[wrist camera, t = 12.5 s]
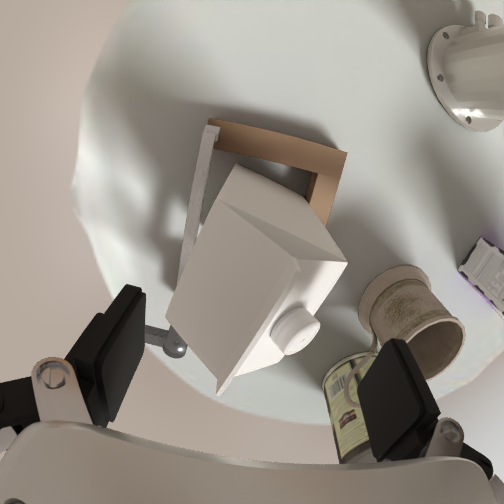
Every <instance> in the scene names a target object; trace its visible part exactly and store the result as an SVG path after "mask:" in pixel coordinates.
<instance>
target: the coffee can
mask: <svg viewBox="0 0 504 504" xmlns="http://www.w3.org/2000/svg"><path fill="white" fill-rule="evenodd" d="M368 353H369V352H365V353H359V354H354V355H352V356H349V357H347V358H345V359H343V360H341V361H339V362H338V363H337V364H335V365H334V366H333V367H332V368H331V369H330V370H329V371H328V372H327V374H326V375H325V377H324V379H323V384H322V388H323V392H324V394H325V399H326V403H327V408H328V412H329V417H330V421H331V426H332V429H333V435H334V440H335V444H336V449H337V454H338V459H339V464H362V463H377V460H376V458H374V457H373V454H372V449H371V445H370V441H369V437H368V433H367V429H366V425H365V421H364V417H363V414H362V410H361V409H357V408H354V407H351V406H350V405H349V404H348V403H347V402H346V400H345V397H344V383H345V380H346V378H347V376H348V374H349V373H350V372H351V370H352V369H353V368H354V367H355V366H356V365H357V364H358V363H359V362H360V361H361V360H362V359H363V358H364V357H365V356H366V355H367V354H368ZM377 355H378V353H375V354H374V355H372V357H371V358H370V359H369V360H368V361H367V363H365V364H364V365H363V366H362V367H361V368H360V369H359V370H358V371H357V372H356V373H355V374H354V376H353V377H352V379H351V381H350V383H349V396H350V398H351V400H352V401H353V402H355V403H359V404H360V402H359V399H358V395H357V387H358V385H359V383H360V382H361V380H362V379H363V377H364V376H365V374H366V372H367V371H368V369H369V368H370V366H371V365H372V363H373V361H374V360H375V358H376V357H377Z"/></svg>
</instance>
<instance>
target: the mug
mask: <svg viewBox="0 0 504 504" xmlns="http://www.w3.org/2000/svg"><path fill="white" fill-rule="evenodd" d="M358 312H359V320H360V322H361V324H362V325H363V327H364V329H366V330H367V331H368V332H370V333H371V334H372V335H373V342H372V345H371V348H370V349H369V353H368V354H367V355H366V356H365V357H364V358H363V359H362V360H361V361H360V362H359V363H358V364H357V365H356V366H355V367H354V368H353V369H352V370H351V372H350V373H349V374H348V376H347V378H346V380H345V383H344V397H345V400H346V402H347V403H348V404H349V405H350V406H351V407H354V408H357V409H361V406H360V404H359V403H355V402H353V401H352V400H351V398H350V396H349V383H350V381H351V379H352V377H353V376H354V374H355V373H356V372H357V371H358V370H359V369H360V368H361V367H362V366H363V365H364V364H365V363H367V361H368V360H369V359H370V358H371V357H372V355H374V354H375V352H376V349H377V344H378V343H377V338H378V340H379V342H380V344H381V346H382V347H383V345H384V343H385V342H386V341H389V339H391V338H396V339H403V340H405V341H406V343H407V345H408V347H409V349H410V351H411V353H412V355H413V356H414V358H415V360H416V362H417V364H418V366H419V368H420V370H421V372H422V374H423V376H424V378H425V380H426V381H429V380H431V379H433V378H435V377H436V376H438V375H439V374H441V373H442V372H443V371H445V370H446V369H447V368H448V367H449V366H450V365H451V364H452V363H453V362H454V360H455V359H456V358H457V356H458V355H459V353H460V351H461V349H462V347H463V345H464V341H465V336H466V334H465V328H464V326H463V325H462V323H461V322H460V321H459V320H458V318H456V317H453V316H452V315H451V314H450V313H449V311H448V310H447V309H446V308H445V307H444V306H443V305H442V303H441V302H440V301H439V300H438V299H437V298H436V297H435V296H434V294H433V293H432V292H431V285H430V282H429V279H428V277H427V276H426V275H425V273H424V272H423V271H422V270H421V269H418V268H416V267H414V266H404V265H400V266H397V267H394V268H390V269H388V270H386V271H385V272H383V273H381V274H380V275H378V276H377V277H376V278H375V279H374V280H373V281H372V282H371V283H370V284H369V285H368V286H367V288H366V290H365V291H364V293H363V295H362V297H361V300H360V304H359V308H358ZM376 336H377V337H376Z"/></svg>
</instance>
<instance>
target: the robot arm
mask: <svg viewBox="0 0 504 504" xmlns="http://www.w3.org/2000/svg"><path fill="white" fill-rule="evenodd" d="M485 24H486V15H485V14H484V13H483V12H481V11H475V25H473V26H471V27H465V26H462V25H450V26H446V27H444V28H442V29H440V30H439V31H437V32H436V33H435V34H434V36H433V37H432V39H431V41H430V44H429V47H428V54H427V63H428V71H429V76H430V79H431V83H432V86H433V88H434V91H435V93H436V95H437V97H438V99H439V101H440V102H441V104H442V106H443V107H444V109H445V110H446V111H447V112H448V114H449V115H450V116H451V117H452V118H453V119H454V120H455V121H456V122H457V123H459V124H460V125H462V126H463V127H465V128H468V129H470V130H474V131H480V132H487V131H490V130H493V129H495V128H496V127H498V126H499V125H500V124H501V122H502V121H503V120H504V25H503V21H502V19H501V18H500V17H499V16H497V15H494V14H490V15H488V28H489V29H486V28H485ZM145 308H146V293H143V292H142V289H141V288H140V287H136V286H132V285H129V284H126V285H125V286H124V287H123V289H122V290H121V291H120V293H119V294H118V295H117V297H116V298H115V299H114V301H113V302H112V304H111V305H110V306H109V308H108V309H107V310H106V312H105V313H104V314H103V313H97V314H96V315H95V316H94V318H93V319H92V321H91V322H90V323H89V325H88V326H87V328H86V329H85V330H84V332H83V333H82V334H81V336H80V337H79V339H78V340H77V341H76V343H75V344H74V346H73V347H72V349H71V350H70V352H69V353H68V354H67V356H66V357H65V359H62V358H56V357H48V358H45V359H42V360H41V361H39V362H37V364H36V365H35V366H34V367H33V370H32V376H30V377H26V378H21V379H17V380H12V381H7V382H3V383H0V453H2V452H3V451H5V450H7V451H6V453H5V455H4V456H3V458H2V460H1V462H0V504H504V483H503V482H502V481H501V480H500V479H499V478H498V476H497V475H493V466H492V463H491V461H490V460H489V459H488V458H486V457H485V456H484V455H482V454H481V453H479V452H478V451H476V450H475V449H473V448H471V447H470V446H468V445H467V444H465V443H464V442H463V440H464V432H463V429H462V427H461V426H460V424H459V423H458V422H456V421H455V420H454V419H451V418H448V417H445V418H441V419H440V420H438V418H437V417H438V416H439V415H440V414H441V412H440V410H439V408H438V406H437V404H436V401H435V399H434V397H433V395H432V393H431V391H430V388H429V386H428V384H427V382H426V380H425V378H424V376H423V374H422V372H421V370H420V368H419V366H418V364H417V362H416V360H415V358H414V356H413V355H412V353H411V351H410V349H409V347H408V345H407V343H406V341H405V340H403V339H396V338H391V339H389V341H386V342H385V343H384V345H383V347H382V348H381V350H380V352H379V353H378V355H377V357H376V358H375V360H374V361H373V363H372V365H371V366H370V368H369V369H368V371H367V372H366V374H365V376H364V377H363V379H362V380H361V382H360V383H359V385H358V387H357V395H358V399H359V402H360V406H361V410H362V414H363V417H364V421H365V425H366V429H367V433H368V437H369V441H370V445H371V449H372V454H373V457H374V458H376V460H377V463H362V464H294V463H278V462H267V461H257V460H249V459H240V458H233V457H227V456H220V455H214V454H209V453H203V452H199V451H194V450H188V449H184V448H180V447H175V446H171V445H167V444H162V443H159V442H155V441H151V440H147V439H144V438H140V437H137V436H133V435H129V434H126V433H122V432H119V431H115V430H112V429H108V428H106V427H107V425H108V422H109V421H110V422H113V421H114V420H115V418H116V415H117V413H118V411H119V408H120V406H121V403H122V401H123V399H124V396H125V394H126V392H127V389H128V387H129V385H130V382H131V380H132V378H133V376H134V373H135V371H136V369H137V366H138V364H139V362H140V360H141V358H142V355H143V352H144V346H145ZM98 425H99V426H98ZM100 426H101V427H100ZM492 475H493V476H492Z"/></svg>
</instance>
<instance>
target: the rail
mask: <svg viewBox="0 0 504 504" xmlns="http://www.w3.org/2000/svg"><path fill="white" fill-rule="evenodd" d="M220 132H221V127H217V126H212V125H206V124H205V129H204V132H203V134H202V139H201V144H200V149H199V153H198V158H197V163H196V168H195V173H194V179H193V184H192V189H191V195H190V201H189V206H188V212H187V218H186V224H185V230H184V237H183V243H182V250H181V257H180V264H179V271H178V279H177V285H178V282H179V280H180V278H181V275H182V273H183V271H184V268H185V266H186V263H187V261H188V259H189V256H190V254H191V252H192V250H193V247H194V245H195V243H196V238H197V233H198V227H199V222H200V216H201V211H202V205H203V200H204V195H205V190H206V185H207V180H208V175H209V170H210V165H211V160H212V156H213V151H214V147H215V142H216V141H218V140H219V136H220ZM176 287H177V286H176Z"/></svg>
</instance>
